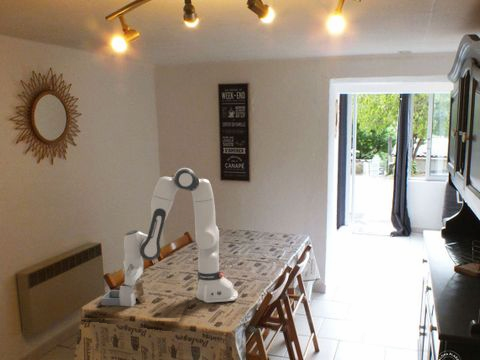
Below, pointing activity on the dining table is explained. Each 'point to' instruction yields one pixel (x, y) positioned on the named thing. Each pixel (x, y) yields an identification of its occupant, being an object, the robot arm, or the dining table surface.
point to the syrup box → (124, 272)
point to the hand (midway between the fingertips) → (134, 287)
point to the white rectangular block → (127, 296)
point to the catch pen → (111, 301)
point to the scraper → (140, 291)
